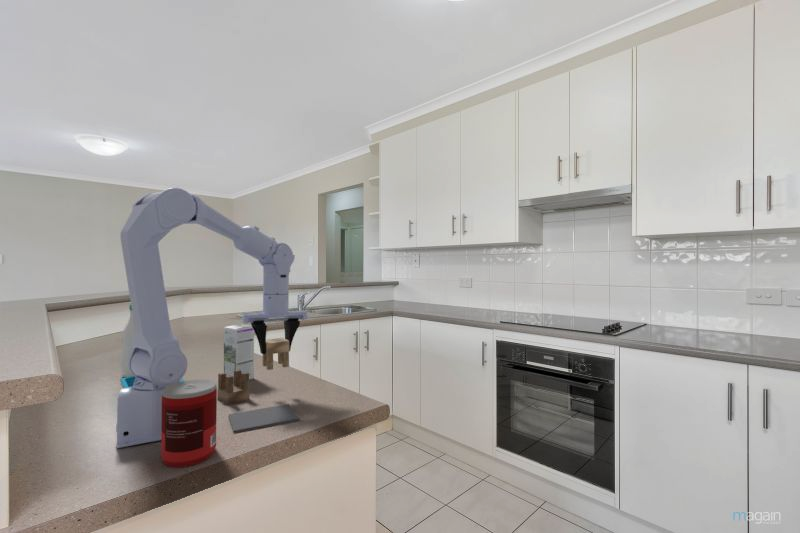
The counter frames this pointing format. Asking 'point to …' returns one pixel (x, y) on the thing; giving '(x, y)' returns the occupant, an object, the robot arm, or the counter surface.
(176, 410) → the canned food
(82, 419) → the counter surface
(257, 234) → the robot arm
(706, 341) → the counter surface
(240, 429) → the mat
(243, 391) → the upturned walnut stool
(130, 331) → the milk bottle
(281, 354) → the oak stool
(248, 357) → the syrup box
